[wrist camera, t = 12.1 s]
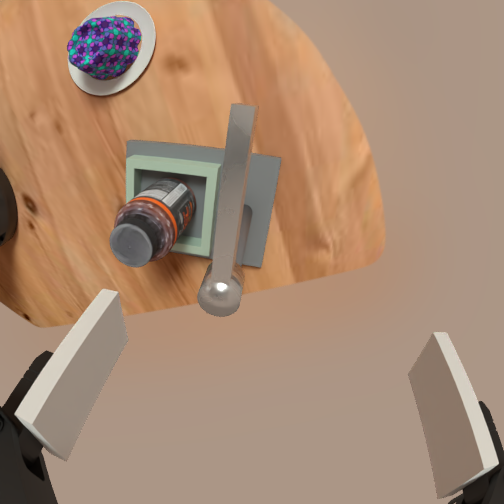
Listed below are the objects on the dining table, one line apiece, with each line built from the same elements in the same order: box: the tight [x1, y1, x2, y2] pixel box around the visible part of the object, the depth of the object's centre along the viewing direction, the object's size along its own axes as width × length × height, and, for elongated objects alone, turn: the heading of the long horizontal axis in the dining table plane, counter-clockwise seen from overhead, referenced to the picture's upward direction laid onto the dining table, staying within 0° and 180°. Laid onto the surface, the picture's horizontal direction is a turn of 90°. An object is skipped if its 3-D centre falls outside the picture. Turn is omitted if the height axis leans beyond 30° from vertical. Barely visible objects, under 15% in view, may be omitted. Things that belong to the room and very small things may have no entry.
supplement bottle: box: [110, 177, 196, 267], centre depth 28 cm, size 6×6×11 cm
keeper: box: [197, 103, 259, 317], centre depth 18 cm, size 13×3×3 cm, turn 172°
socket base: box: [126, 140, 281, 267], centre depth 28 cm, size 17×13×13 cm
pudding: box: [67, 1, 156, 96], centre depth 23 cm, size 12×12×5 cm
